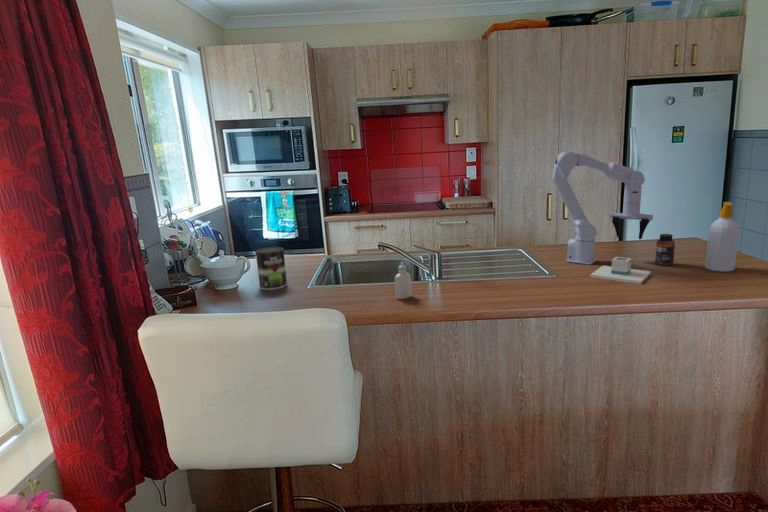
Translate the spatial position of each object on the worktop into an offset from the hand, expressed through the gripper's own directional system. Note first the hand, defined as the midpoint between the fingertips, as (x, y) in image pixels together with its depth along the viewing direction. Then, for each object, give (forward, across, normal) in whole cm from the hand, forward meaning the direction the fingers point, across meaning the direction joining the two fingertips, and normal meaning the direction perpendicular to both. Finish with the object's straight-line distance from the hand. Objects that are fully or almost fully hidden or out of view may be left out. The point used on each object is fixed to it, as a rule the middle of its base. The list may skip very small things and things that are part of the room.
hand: (629, 237), depth 179 cm
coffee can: (+10, -98, -96) cm, 138 cm away
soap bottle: (+10, +29, +4) cm, 31 cm away
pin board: (+9, +3, -21) cm, 23 cm away
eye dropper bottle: (+10, -48, -80) cm, 94 cm away
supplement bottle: (+10, +12, +2) cm, 15 cm away
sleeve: (+8, +3, -21) cm, 23 cm away
